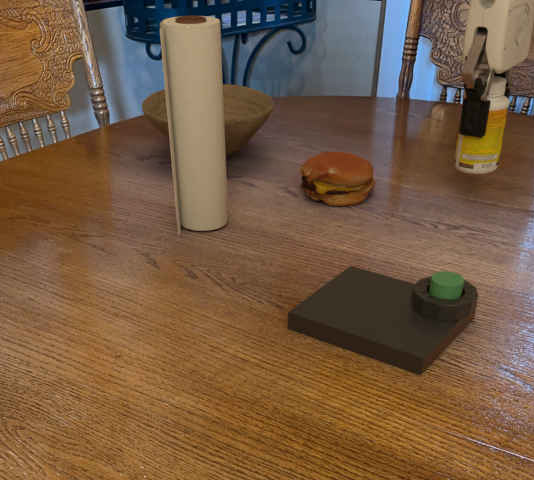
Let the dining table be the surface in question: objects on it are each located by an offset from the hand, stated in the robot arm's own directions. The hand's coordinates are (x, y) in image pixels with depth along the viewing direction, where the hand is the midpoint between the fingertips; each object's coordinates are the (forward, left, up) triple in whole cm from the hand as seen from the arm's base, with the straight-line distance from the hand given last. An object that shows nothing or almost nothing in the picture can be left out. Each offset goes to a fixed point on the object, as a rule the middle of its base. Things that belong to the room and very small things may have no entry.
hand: (481, 127), depth 87 cm
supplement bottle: (0, 0, -5) cm, 5 cm away
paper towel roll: (+24, +27, -9) cm, 37 cm away
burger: (+15, +9, -9) cm, 19 cm away
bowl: (+38, +7, -9) cm, 39 cm away
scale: (-6, +36, -9) cm, 38 cm away
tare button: (-11, +33, -5) cm, 35 cm away
